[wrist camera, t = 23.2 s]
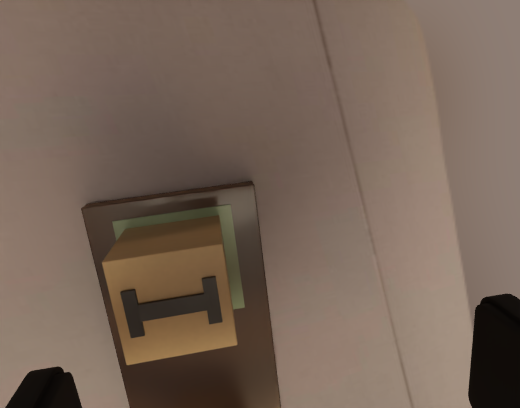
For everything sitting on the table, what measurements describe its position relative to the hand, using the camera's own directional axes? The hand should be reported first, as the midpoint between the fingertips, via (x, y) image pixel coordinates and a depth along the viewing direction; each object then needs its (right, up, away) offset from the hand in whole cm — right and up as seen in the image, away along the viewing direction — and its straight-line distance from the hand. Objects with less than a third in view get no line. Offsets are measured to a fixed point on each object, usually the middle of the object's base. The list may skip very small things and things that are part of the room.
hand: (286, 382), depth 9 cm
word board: (-4, -6, +15) cm, 17 cm away
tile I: (-5, +1, +12) cm, 13 cm away
